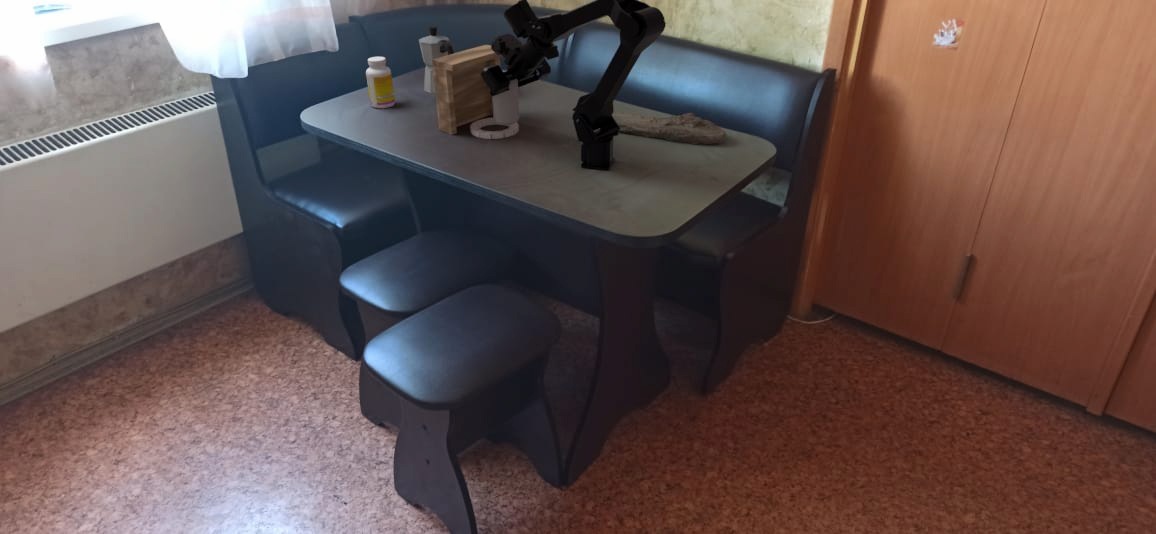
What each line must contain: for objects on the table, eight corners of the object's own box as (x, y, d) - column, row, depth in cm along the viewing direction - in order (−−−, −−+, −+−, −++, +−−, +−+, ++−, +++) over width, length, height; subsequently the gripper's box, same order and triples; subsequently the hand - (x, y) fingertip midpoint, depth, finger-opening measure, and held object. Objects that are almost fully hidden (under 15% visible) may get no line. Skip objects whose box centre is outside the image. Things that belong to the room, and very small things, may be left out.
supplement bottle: (400, 103, 216) (394, 57, 209) (383, 110, 211) (376, 63, 205) (382, 99, 219) (376, 54, 212) (365, 106, 214) (358, 59, 208)
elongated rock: (601, 122, 207) (585, 136, 199) (600, 103, 204) (584, 117, 196) (730, 134, 193) (719, 150, 185) (731, 114, 190) (719, 129, 183)
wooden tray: (509, 117, 205) (506, 49, 196) (458, 136, 194) (452, 65, 185) (490, 111, 210) (486, 44, 200) (439, 130, 198) (432, 59, 189)
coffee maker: (414, 88, 228) (406, 25, 219) (439, 81, 233) (433, 20, 224) (443, 100, 218) (436, 35, 209) (468, 93, 224) (463, 29, 214)
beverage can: (507, 128, 190) (505, 80, 183) (488, 122, 193) (485, 74, 187) (524, 120, 194) (523, 73, 188) (505, 114, 197) (503, 67, 191)
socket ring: (524, 124, 201) (524, 119, 200) (508, 140, 191) (508, 136, 191) (481, 120, 204) (481, 115, 203) (463, 136, 194) (462, 131, 193)
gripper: (540, 17, 185) (509, 56, 197) (483, 32, 173) (454, 72, 185) (566, 56, 185) (533, 92, 196) (510, 74, 172) (479, 111, 184)
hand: (500, 91), depth 190 cm, fingers closed on beverage can, 6 cm apart
